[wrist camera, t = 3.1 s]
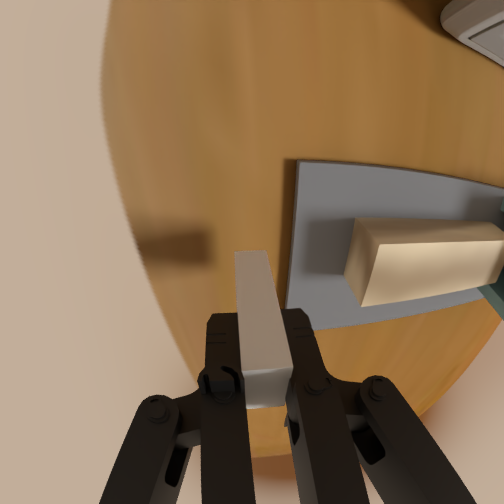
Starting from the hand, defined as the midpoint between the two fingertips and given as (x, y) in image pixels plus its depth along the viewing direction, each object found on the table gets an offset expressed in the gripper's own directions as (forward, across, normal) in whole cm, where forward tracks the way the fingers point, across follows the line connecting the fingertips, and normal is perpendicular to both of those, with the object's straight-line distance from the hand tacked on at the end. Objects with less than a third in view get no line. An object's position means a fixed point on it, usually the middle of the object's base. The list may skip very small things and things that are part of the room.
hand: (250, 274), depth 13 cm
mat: (+3, +16, -1) cm, 16 cm away
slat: (+2, +13, 0) cm, 13 cm away
